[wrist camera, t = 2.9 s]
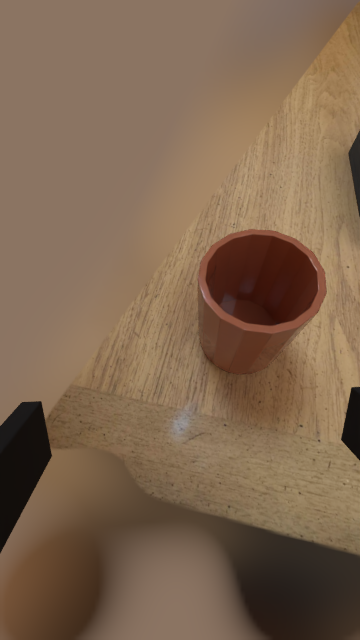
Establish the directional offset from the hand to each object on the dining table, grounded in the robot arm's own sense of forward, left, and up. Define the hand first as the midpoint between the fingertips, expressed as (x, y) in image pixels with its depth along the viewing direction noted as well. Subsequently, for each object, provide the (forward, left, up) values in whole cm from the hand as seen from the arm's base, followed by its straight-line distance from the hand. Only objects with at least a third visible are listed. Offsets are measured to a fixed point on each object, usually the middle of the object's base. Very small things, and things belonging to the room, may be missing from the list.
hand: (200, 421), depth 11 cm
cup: (+3, +9, -12) cm, 16 cm away
